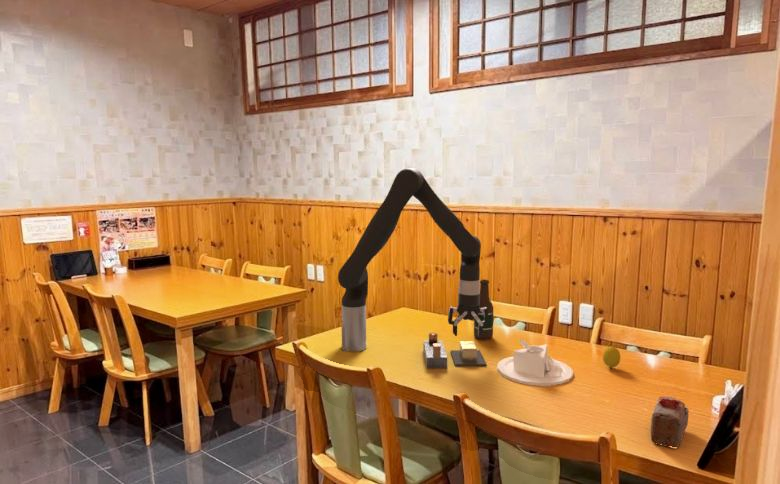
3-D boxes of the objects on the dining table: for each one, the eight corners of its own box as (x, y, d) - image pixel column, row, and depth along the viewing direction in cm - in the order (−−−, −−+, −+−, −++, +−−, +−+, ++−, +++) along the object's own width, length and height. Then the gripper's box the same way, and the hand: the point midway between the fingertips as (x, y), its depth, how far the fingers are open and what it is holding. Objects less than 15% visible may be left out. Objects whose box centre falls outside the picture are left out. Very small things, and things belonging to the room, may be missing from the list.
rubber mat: (455, 366, 182) (455, 364, 182) (450, 352, 196) (450, 350, 196) (486, 366, 182) (486, 363, 182) (479, 352, 196) (479, 350, 196)
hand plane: (447, 368, 180) (447, 346, 179) (426, 368, 180) (427, 346, 179) (441, 350, 198) (442, 330, 197) (423, 350, 198) (423, 330, 197)
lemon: (619, 366, 181) (621, 344, 180) (619, 372, 176) (620, 349, 175) (602, 364, 183) (603, 342, 182) (601, 369, 178) (603, 347, 177)
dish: (552, 393, 161) (554, 358, 159) (483, 372, 177) (483, 340, 176) (584, 371, 178) (586, 339, 177) (519, 354, 195) (519, 324, 194)
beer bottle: (494, 340, 210) (495, 282, 206) (475, 340, 210) (476, 282, 206) (491, 334, 217) (492, 278, 214) (472, 334, 217) (473, 278, 214)
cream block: (462, 360, 185) (462, 348, 185) (459, 353, 193) (459, 341, 192) (476, 360, 185) (476, 348, 185) (473, 353, 193) (473, 341, 192)
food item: (654, 421, 142) (656, 387, 141) (687, 429, 138) (690, 393, 136) (648, 443, 131) (650, 406, 129) (684, 452, 126) (687, 414, 125)
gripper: (450, 294, 182) (449, 338, 184) (491, 294, 182) (489, 339, 185) (447, 289, 190) (446, 332, 192) (487, 289, 190) (485, 332, 192)
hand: (467, 335), depth 188 cm, fingers open, 8 cm apart
